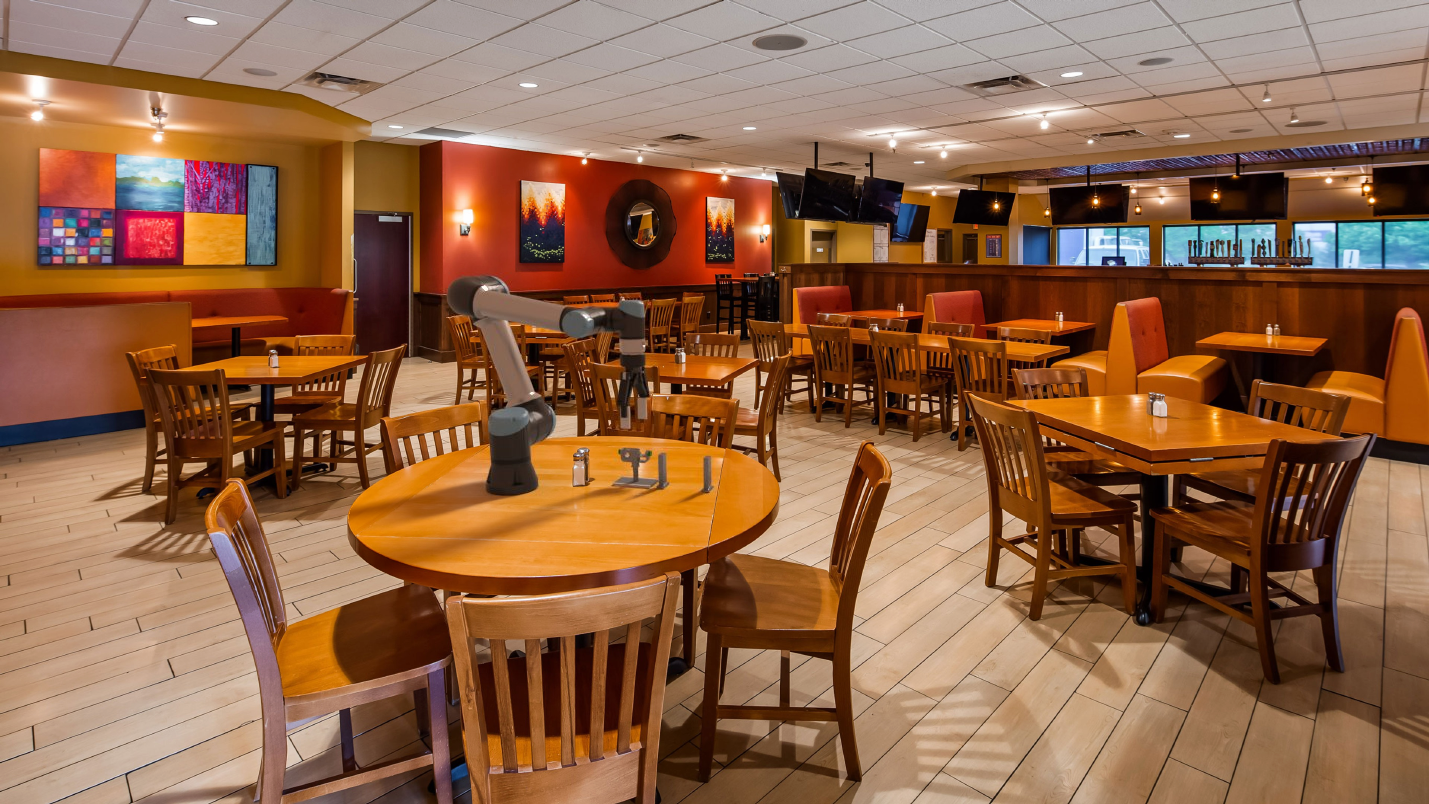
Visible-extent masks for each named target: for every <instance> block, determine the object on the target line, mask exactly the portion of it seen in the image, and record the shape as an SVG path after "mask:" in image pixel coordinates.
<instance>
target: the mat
mask: <svg viewBox="0 0 1429 804" xmlns="http://www.w3.org/2000/svg"><path fill="white" fill-rule="evenodd" d="M657 483H659V478H653V477H641V476H640V477H639V476H638V481H637V482H634V481H633V476H628V475H627V476H626V475H625V476H624V475H622V476H621V477H619V478H618V479H617V480H615V481H614V482H612V486H617V487H628V488H629V487H631V488H642V489H652V487H653V486H654V485H656V484H657Z"/></svg>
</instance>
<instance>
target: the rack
mask: <svg viewBox="0 0 1429 804" xmlns="http://www.w3.org/2000/svg"><path fill="white" fill-rule="evenodd" d="M657 460H658V461H657V462H658V463H657V464H658V465H657V466H658V467H657V469H658V471H657V472H658V475H657V476H658V479H659V481H658V484H657V485H656V486H655V489H660V490H664V489H666V488H667V487H668V486H669V485H670V482H668V481H667V479H668V478H667V475H668V474H667V471H668V470H667V469H668V468H667V452H660V453H659V454H658V455H657ZM702 463H703V466H702V467H703V468H702V469H703V488H701V489H700V491H701V493H710V492H711V491H712V490H713V489H714V488H715V485H712V455H705V456H704V457H703V461H702Z"/></svg>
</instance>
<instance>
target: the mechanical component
mask: <svg viewBox="0 0 1429 804" xmlns="http://www.w3.org/2000/svg"><path fill="white" fill-rule="evenodd" d="M617 452H618V454H619V456H620V460H621V461H622V462H623V463H631V465H630V467H631V468H632V477H633V481H634V482H637V481H638V477H639V468H640V466H641V465H640V464H646V463H647V462H648V461H650V459H651V457H652V456H653V451H652V450H650V449H646V450H645V452H644V453H642V451H641V448H638V447H637V448H636V447H621V448H618V451H617ZM641 458H645V459H641Z"/></svg>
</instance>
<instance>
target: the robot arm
mask: <svg viewBox="0 0 1429 804" xmlns="http://www.w3.org/2000/svg"><path fill="white" fill-rule="evenodd" d="M446 301H447V304H448V306H449V308H450V309H451V310H452V311H453V312H454V313H456V314H458V315H460V316H463V317H469V318H471V321H472V324H473V325H474V326H475V327H477V328H479V329H480V330H481V333H482V336H483V339H484V341H485V343H486V347H487V349H488V351H489V354H490V357H491V360H492V363H493V366H494V368H495V371H496V372H497V376H498V378H499V381H500V383H501V386H502V389H503V392H504V394H505V396H506V400H507V404H506V405H505V408H500V409H497V410H495V411H492V413H491V414H490V415H489V416H488V424H487V431H488V440H489V441H488V442H489V452H490V453H489V454H490V455H489V457H490V467H489V470H488V474H487V476H486V480H485V489H486V492H487V493H490V494H493V495H500V496H509V495H511V496H513V495H520V494H521V495H522V494H525V493H529V492H532V491H535V490H537V488H538V487H539V477H538V476H537V475H538V474H537V473H536V470H535V467H534V465H533V462H532V451H531V446H534V445H535V444H538V443H540V442H543V441H544V440H545V441H546V439H547V438H548V437H550V436H551V435H552V434H553V432H554V431H555V428H556V425H557V418H556V417H557V416H556V413H555V411H554V410H553V408H552V407H551V406H550V405H548V403H545V402H544V399H543V396H542V395H541V394H539V393H538V392H536V391H535V389H534V387H533V384H532V381H531V379H530V376H529V372H528V370H527V368H526V365H525V363H524V360H523V358H522V355H521V353H520V352H521V351H520V350H519V346H518V343H517V341H516V338H515V336H514V333H513V331H512V327H511V326H510V322H511V323H515V324H516V323H517V324H521V325H526V326H530V327H531V326H532V327H535V328H541V329H545V330H549V331H554V332H560V333H565V334H566V335H567V336H569V337H570V338H574V339H583V338H586V337H588V336H591V335H596V334H601V333H616V334H617V333H618V334H619V335H618V337H619V352H620V354H619V365H620V366H621V368H625V371H621V372H620V374H619V377H620V378H619V379H620V380H619V386H618V392H617V399H616V406H617V407H620V408H619V411H620V413H619V414H620V429H627V430H628V429H629V430H630V429H631V406H629V404H630V400H631V397H632V392H633V389H634V388H635V390H636V393H637V395H638V396H637V419H638V420H648V409H647V407H648V406H647V405H648V404H647V403H648V401H647V400H648V399H647V398H650V395H651V394H650V389H649V383H648V379H647V375H646V364H647V362H646V360H647V359H646V354H645V351H646V346H647V342H646V313H645V303H644V302H643V301H642V300H639V299H631V300H630V299H629V300H628V299H625V300H624V299H623V300H619V302H618V305H617V306H614V307H613V306H595V305H591V306H583V307H581V308H578V307H577V308H576V307H571V306H568V305H562V304H558V303H552V302H548V301H543V300H538V299H533V298H529V297H523V296H520V295H519V296H518V295H515V294H511V293H510V290H509V287H508V286H507V284H506V283H505V282H504V281H503V279H500V278H499V277H496V276H493V275H487V274H482V275H475V276H473V275H471V276H469V275H468V276H461V277H458V278H456V279H454V280H453V281H452V282H451V283H450V284H449V286H448V288H447V291H446Z"/></svg>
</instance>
